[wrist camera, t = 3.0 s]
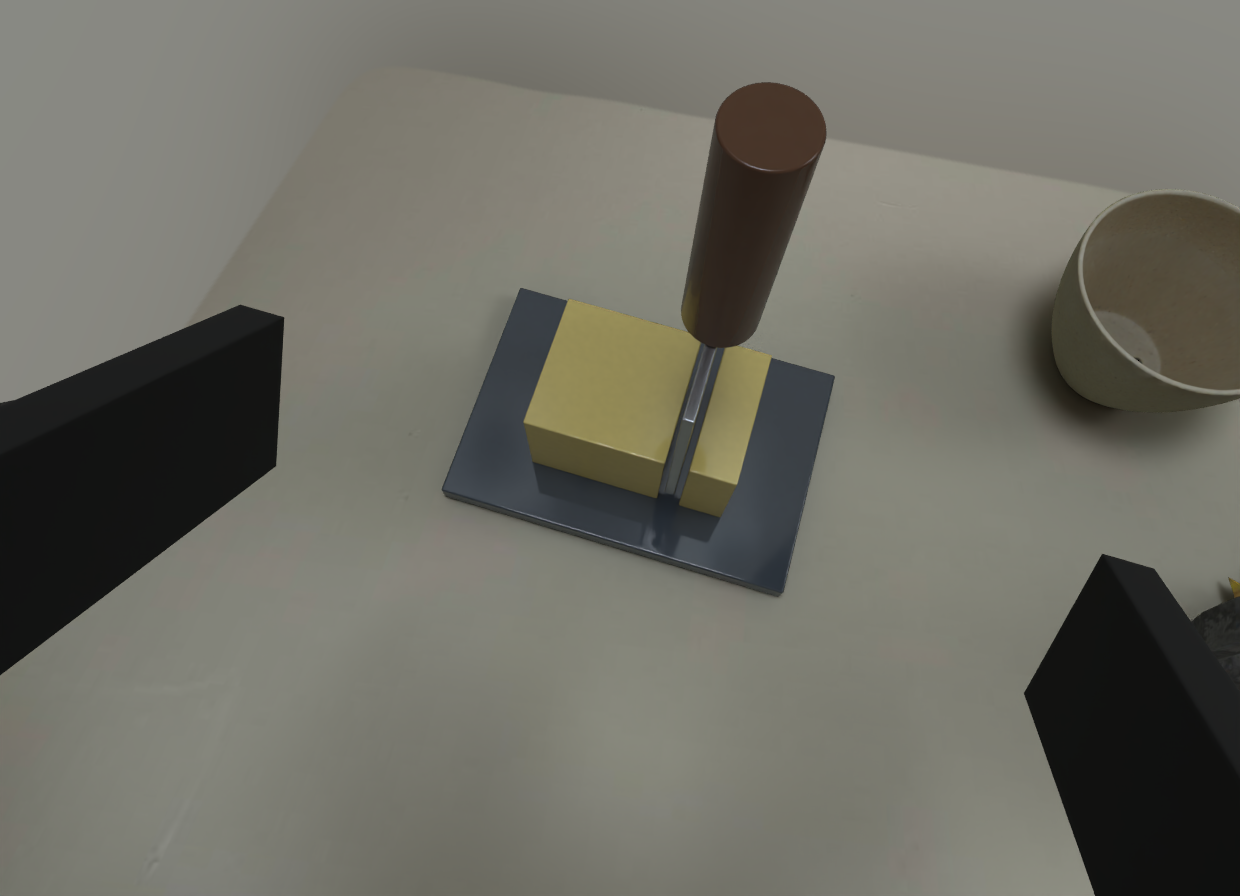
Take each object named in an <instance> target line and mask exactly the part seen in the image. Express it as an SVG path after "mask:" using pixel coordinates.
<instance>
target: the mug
mask: <svg viewBox="0 0 1240 896" xmlns="http://www.w3.org/2000/svg"><path fill="white" fill-rule="evenodd" d="M1228 578H1229V577H1228ZM1229 581H1230V584H1231V587H1232V591H1233V594H1234V597H1235V598H1233V599H1231V600H1229V601H1227V602H1225V603H1222V604H1220V605H1218V606H1216V607H1213V608H1211V609H1209V610H1207V611H1204V612H1203V613H1201V614H1200V615H1199V616H1198V617H1196V618H1195V619H1194V620H1192V621H1191V622H1192V624H1193V625H1194V627H1195V628H1196V630H1197V631H1198V632H1199V634H1200V635H1201V637H1202V638H1203V640H1204V641H1205V642H1206V644H1207V645H1208V647H1209V648H1210V650H1211V651H1212V652H1213V654H1214V655H1215V657H1216V658H1217V660H1218V661H1219V663H1220V664H1221V665H1222V667H1223V668H1224V670H1225V671H1226V673H1227V674H1228V675H1229V677H1230V678H1231V680H1232V681H1233V683H1234V684H1235V685H1236V687H1237V688H1238V690H1239V691H1240V583H1238V582H1236V581H1234V580H1232V579H1231V578H1229Z"/></svg>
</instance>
